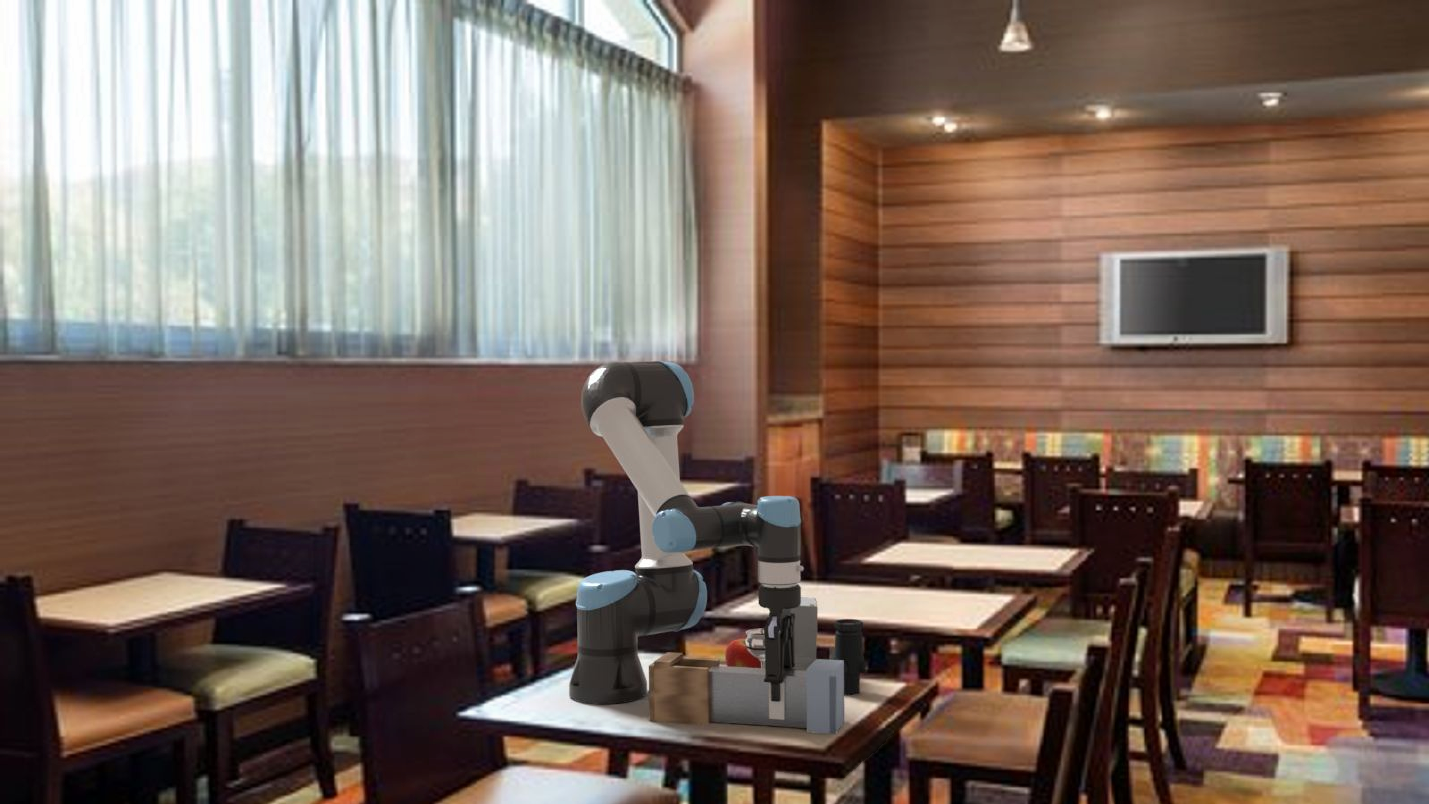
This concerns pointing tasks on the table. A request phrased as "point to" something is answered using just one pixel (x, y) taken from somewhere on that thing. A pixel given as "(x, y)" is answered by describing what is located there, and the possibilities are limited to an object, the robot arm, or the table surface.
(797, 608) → the skincare box
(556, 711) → the table surface
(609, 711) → the table surface
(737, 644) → the apple
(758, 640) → the wineglass
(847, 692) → the scope
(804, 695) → the grey rectangular box
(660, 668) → the brown wooden box
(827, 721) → the blue-grey upright rectangular block
